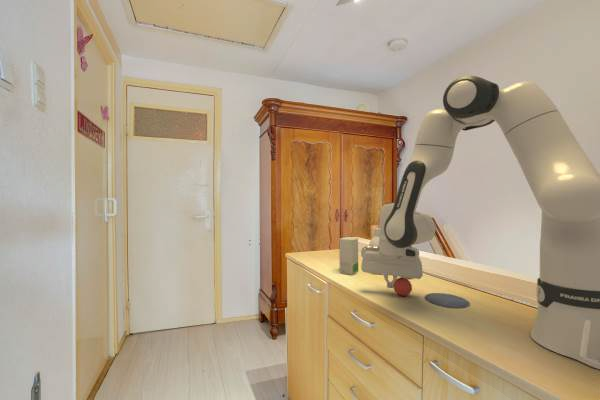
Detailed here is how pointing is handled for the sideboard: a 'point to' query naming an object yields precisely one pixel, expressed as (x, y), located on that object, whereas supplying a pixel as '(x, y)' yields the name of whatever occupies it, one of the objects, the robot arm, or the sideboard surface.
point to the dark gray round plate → (447, 300)
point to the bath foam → (375, 239)
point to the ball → (402, 286)
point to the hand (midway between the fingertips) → (390, 287)
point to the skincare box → (348, 255)
